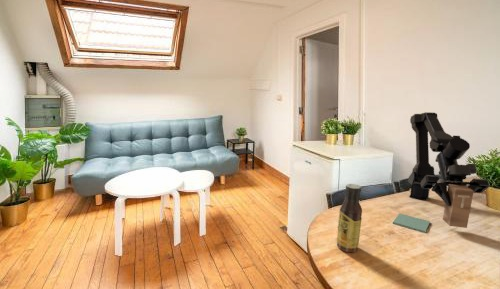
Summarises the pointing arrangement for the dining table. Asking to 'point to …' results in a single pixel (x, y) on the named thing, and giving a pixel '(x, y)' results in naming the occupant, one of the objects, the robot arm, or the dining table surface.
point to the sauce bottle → (350, 220)
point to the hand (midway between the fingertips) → (459, 206)
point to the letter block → (458, 205)
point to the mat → (411, 222)
